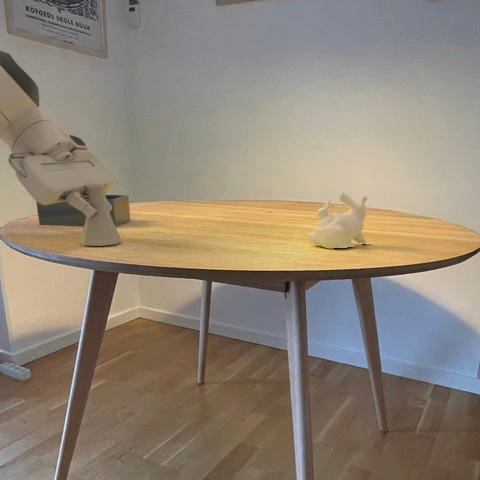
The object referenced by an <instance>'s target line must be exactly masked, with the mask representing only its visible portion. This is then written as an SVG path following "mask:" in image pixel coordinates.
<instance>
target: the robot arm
mask: <svg viewBox="0 0 480 480" xmlns="http://www.w3.org/2000/svg"><path fill="white" fill-rule="evenodd" d="M39 108H40V92H39V87H38V85H37V83H36V82H35V80H34V79H32V77H31V76H30V75H29V74H28V73H27V72H26V71H25V70H24V69H23V68H22V67H21V66H20V65H19V64H18V62H16V61H15V59H14V58H13V56H11V54H10V53H9V52H5V51H3V50H0V141H2V142H3V143H5V144H6V145H7V147H8V149H9V150H10V152H11V154H9V157H8V164H9V166H10V167H11V168H12V169H13V170H14V171H15V176H16V178H17V180H18V181H19V182H20V184H21V185H22V187H23V188H24V189H25V190H26V192H27V193H28V194H29V195H30V196H31V198H32V199H33V200H34V201H35V202H36V201H37V202H38V203H40V204H42V205H49V204H54V203H59V202H64V201H67V202H68V203H69V204H70V205H71V206H73V207H75V208H76V209H78V210H80V211H82V212H83V213H84V214H85V215H86V216H87V217H88V218H90V217H94V216H95V215H96V214H97V213H98V209H97V208H96V207H95V206H94V205H93V204H92V203H90V204H89V203H88V202H87V201H86V200H84V199H83V198H85V197H89V194H88V190H87V189H86V186H88V185H104V186H105V189H104V196H105V195H106V194H107V193H109V191H110V190H111V189H112V187H113V186H114V185H115V183H116V181H115V177H114V176H113V174H112V172H110V170H109V169H108V168H107V165H105V164H104V163H103V161H101V159H100V158H99V157H98V156H97V155H96V154H95V153H94V152H92V151H90V150H88V149H89V147H90V146H89V144H88V142H86V141H85V140H84V139H83V138H82V137H78V136H77V135H76V136H75V135H73V134H70V133H68V132H66V131H65V130H64V129H61V128H58V126H57V125H56V124H55V123H54V122H53V121H52V120H51V119H50V118H48V117H46V116H45V115H44V114H43V113H42V112H41V110H40V109H39ZM105 201H106V205H107V208H108V211H109V212H110V210H111V209H112V206H111V204H110V203H109V202H108V201H107V199H106V197H105Z"/></svg>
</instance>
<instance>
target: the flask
mask: <svg viewBox="0 0 480 480" xmlns="http://www.w3.org/2000/svg"><path fill="white" fill-rule="evenodd" d="M86 189H87V190H88V194H89V204H90V203H92V204H93V205H94V206H95V207H96V208H97V209H98V213H97V214H96V215H95V216H94V217H90V218H88V217H87V216H86V220H85V225H84V226H83V229H82V232H81V236H80V241H79V243H80V244H81V245H83V246H94V247H104V246H113V245H117V244H120V243H121V242H122V237H121V235H120V234H119V231H118V230H117V227H115V225H114V223H113V220H112V218H111V216H110V213H109V211H108V208H107V205H106V201H105V196H104V189H105V186H104V185H88V186H86Z"/></svg>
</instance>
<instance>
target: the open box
mask: <svg viewBox="0 0 480 480" xmlns="http://www.w3.org/2000/svg"><path fill="white" fill-rule="evenodd" d="M105 197H106V199H107V201H108V202H109V203H110V204H111V206H112V209H111V210H110V212H109V213H110V216H111V218H112V220H113V223H114V225H115V227H116V228H117V227H119V226H121V225H123V224H125V223H128V222H129V221H131V211H130V209H131V208H130V197H129V195H128V194H105ZM83 199H84V200H86V201H87V202H88V203H89V197H85V198H83ZM35 202H36V203H35V204H36V211H37V218H38V224H39V225H47V226H73V227H74V226H75V227H84V225H85V220H86V215H85V214H84V213H83V212H82V211H80V210H78V209H76V208H75V207H73V206H71V205H70V204H69V203H68V202H67V201H64V202H59V203H54V204H49V205H42V204H40V203H38V202H37V201H35Z"/></svg>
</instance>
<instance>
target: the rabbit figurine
mask: <svg viewBox="0 0 480 480" xmlns="http://www.w3.org/2000/svg"><path fill="white" fill-rule="evenodd" d="M338 201H339V202H340V203H342V204H344V205H346V206H348V207H349V210H348V211H347V212H344V213H343V212H342V213H340V212H335V213H334V214H332V213H328V211H329V210H331V209H334V204H333V203H332V201H331V200H330V199H329V200H327V201H326V203H325V204H324V206H323V207H320V208H318V210H317V212H316V217H317V218H319V219H320V220H319V221H318V224H317V226H314V227H313V231H311V232H309V233H308V235H307V237H308V240H309V241H310V243H311V244H313V245H315V246H316V247H322V248H324V247H325V249H334V248H347V247H353V248H355V247H354V246H356V244H355V243H353V242H352V240H354V241H355V242H356V243H358V244H360V243H362V244H366V243H371V242H370V241H366V238H365V237H364V235H363V233H362V232H363V230H364V220H365V219H366V216H367V211H366V205H365V203H366V202H367V201H368V197H367V196H363V197H362V198H361V200H359V201H354V200H353V198H352V197H350V196H349V195H348V194H346V193H345V192H343V191H342V192H341V193H340V195H339V197H338ZM362 244H361V245H362Z"/></svg>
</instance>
